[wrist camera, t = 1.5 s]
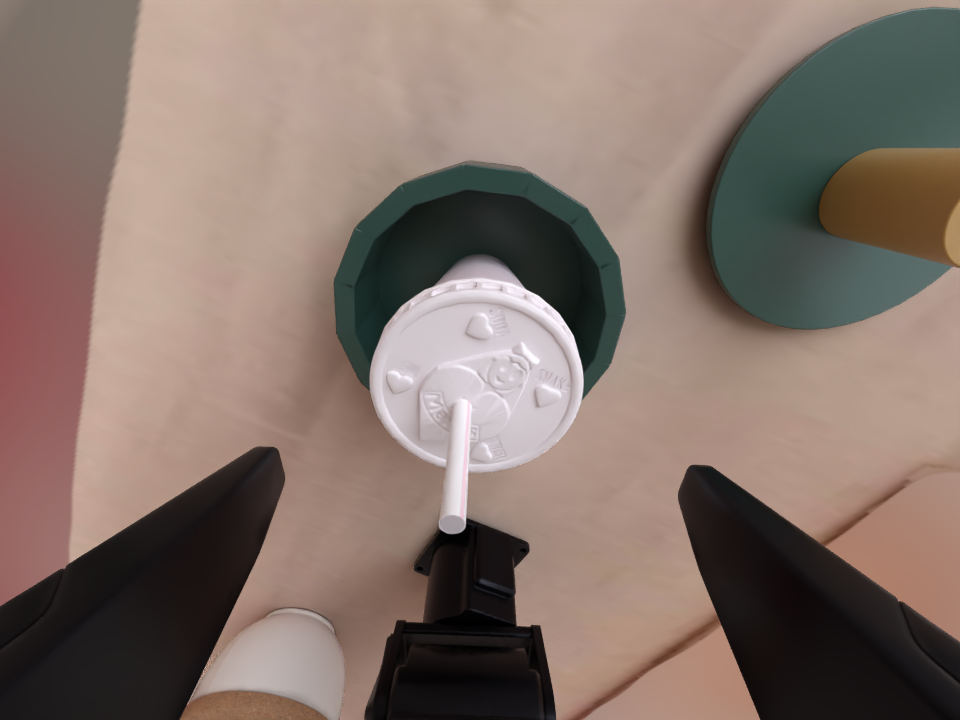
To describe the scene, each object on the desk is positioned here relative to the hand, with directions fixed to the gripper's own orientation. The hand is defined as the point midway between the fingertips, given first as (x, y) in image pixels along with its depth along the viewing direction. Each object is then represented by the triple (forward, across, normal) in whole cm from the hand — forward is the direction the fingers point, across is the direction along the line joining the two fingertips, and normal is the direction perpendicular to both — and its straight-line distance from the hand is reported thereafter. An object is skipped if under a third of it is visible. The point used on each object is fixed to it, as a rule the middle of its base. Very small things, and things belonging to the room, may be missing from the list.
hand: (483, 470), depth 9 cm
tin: (+13, 0, 0) cm, 13 cm away
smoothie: (+13, 0, 0) cm, 13 cm away
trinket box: (+12, +14, +31) cm, 37 cm away
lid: (+13, -16, -5) cm, 21 cm away
